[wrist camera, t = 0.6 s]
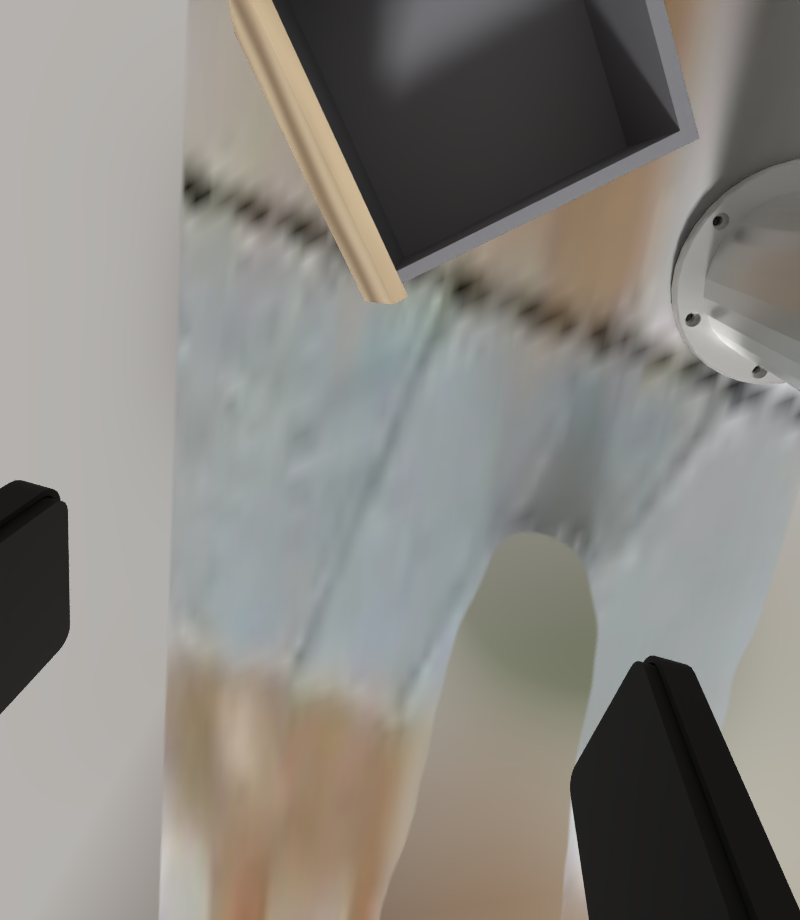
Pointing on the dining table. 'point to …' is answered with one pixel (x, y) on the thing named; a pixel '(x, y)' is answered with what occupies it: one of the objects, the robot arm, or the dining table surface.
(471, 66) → the carton
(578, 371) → the dining table surface
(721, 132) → the dining table surface
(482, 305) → the dining table surface
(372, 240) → the flap
